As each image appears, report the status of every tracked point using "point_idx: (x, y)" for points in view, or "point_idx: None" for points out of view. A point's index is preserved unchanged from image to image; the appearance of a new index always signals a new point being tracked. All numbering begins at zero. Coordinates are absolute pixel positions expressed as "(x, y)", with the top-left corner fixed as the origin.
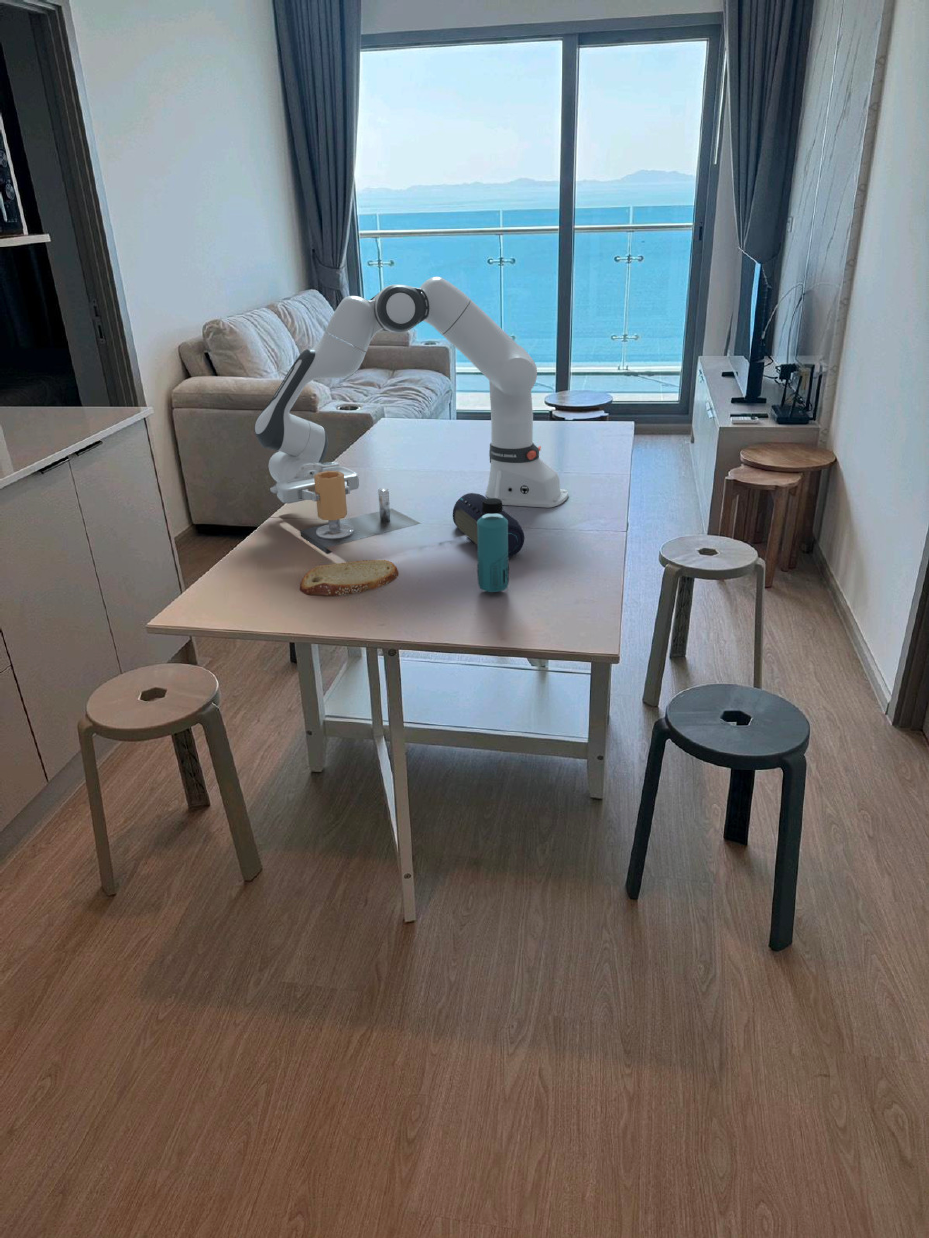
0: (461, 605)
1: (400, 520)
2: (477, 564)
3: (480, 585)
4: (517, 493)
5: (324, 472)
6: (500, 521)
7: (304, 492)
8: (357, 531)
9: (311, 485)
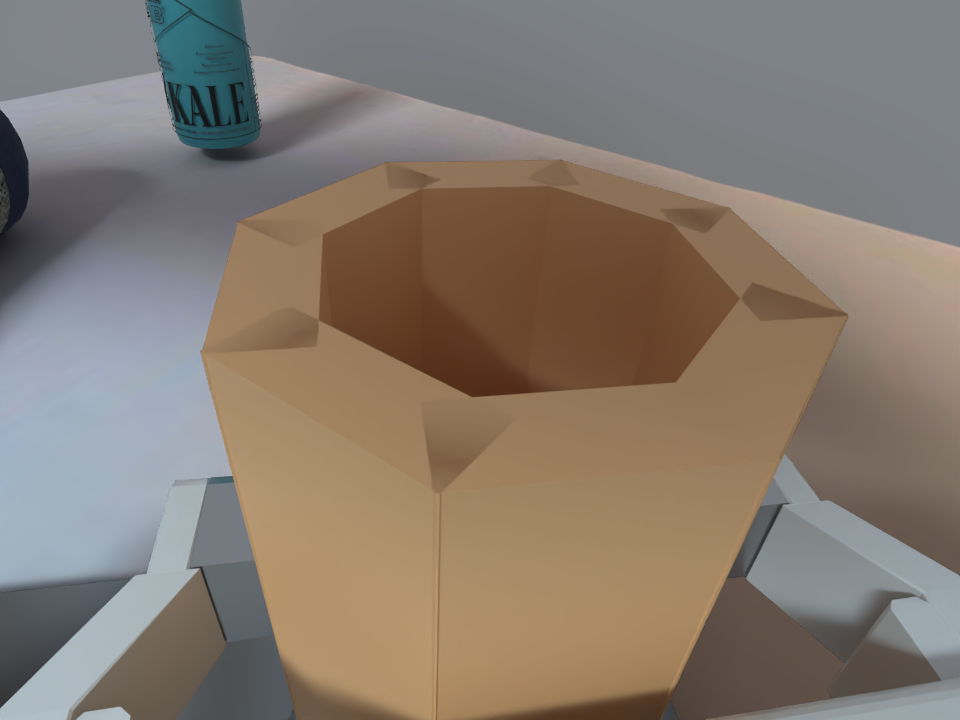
0: (336, 149)
1: None
2: (235, 83)
3: (259, 125)
4: None
5: (578, 410)
6: None
7: (941, 579)
8: (266, 713)
9: (862, 695)
